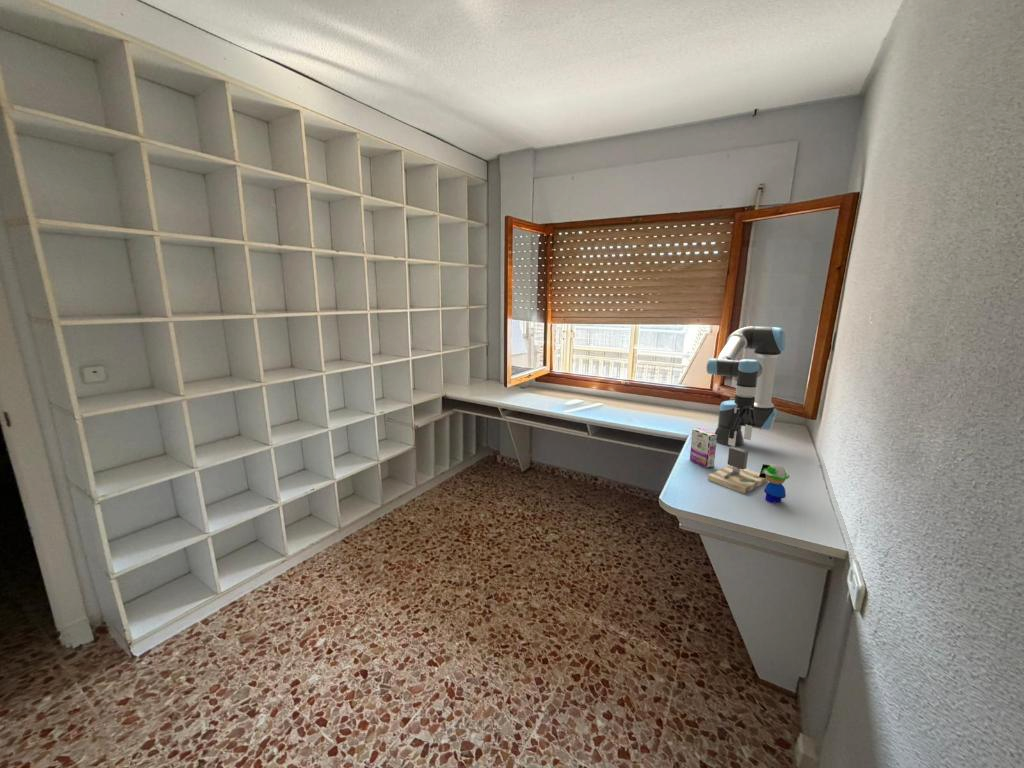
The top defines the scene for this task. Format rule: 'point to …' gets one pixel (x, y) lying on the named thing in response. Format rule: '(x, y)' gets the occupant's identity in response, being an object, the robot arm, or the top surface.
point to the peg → (737, 460)
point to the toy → (774, 482)
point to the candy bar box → (703, 447)
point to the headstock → (737, 479)
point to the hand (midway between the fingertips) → (739, 442)
